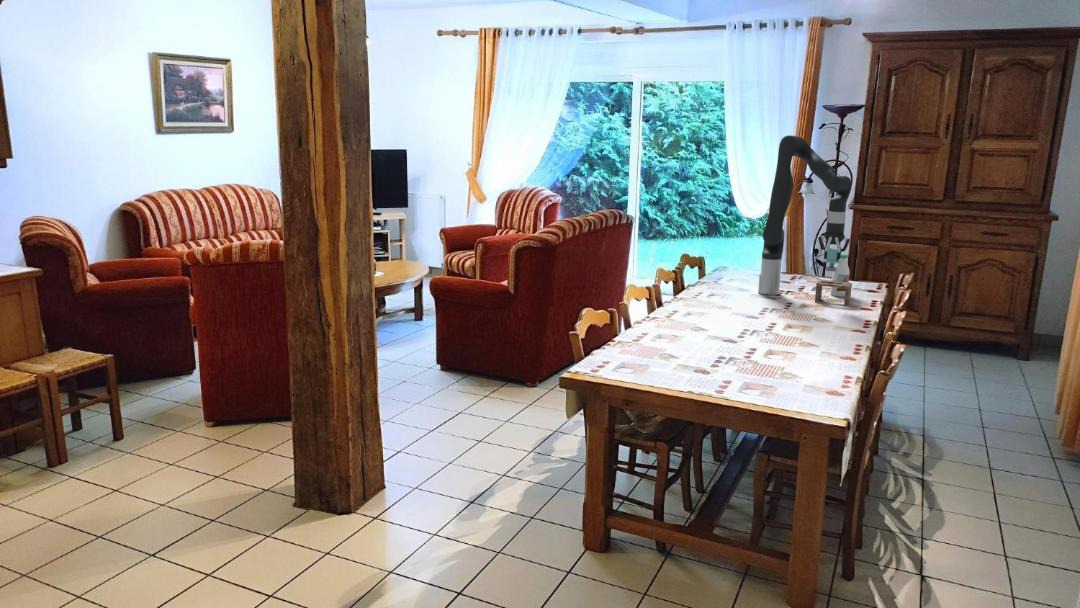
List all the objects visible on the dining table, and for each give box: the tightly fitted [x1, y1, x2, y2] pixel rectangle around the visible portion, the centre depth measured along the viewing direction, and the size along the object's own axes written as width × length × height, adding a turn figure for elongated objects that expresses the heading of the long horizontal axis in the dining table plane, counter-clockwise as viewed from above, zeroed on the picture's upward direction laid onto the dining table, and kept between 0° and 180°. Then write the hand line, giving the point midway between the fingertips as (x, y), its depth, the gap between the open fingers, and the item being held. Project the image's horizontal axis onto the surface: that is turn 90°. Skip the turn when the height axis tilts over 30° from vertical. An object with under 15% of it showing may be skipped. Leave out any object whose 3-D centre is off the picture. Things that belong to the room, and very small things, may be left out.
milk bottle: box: [830, 253, 850, 298], centre depth 368 cm, size 8×8×20 cm
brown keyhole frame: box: [814, 279, 853, 307], centre depth 354 cm, size 14×9×9 cm, turn 60°
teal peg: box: [822, 247, 841, 272], centre depth 344 cm, size 7×7×10 cm
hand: (832, 259), depth 344 cm, fingers closed on teal peg, 4 cm apart
